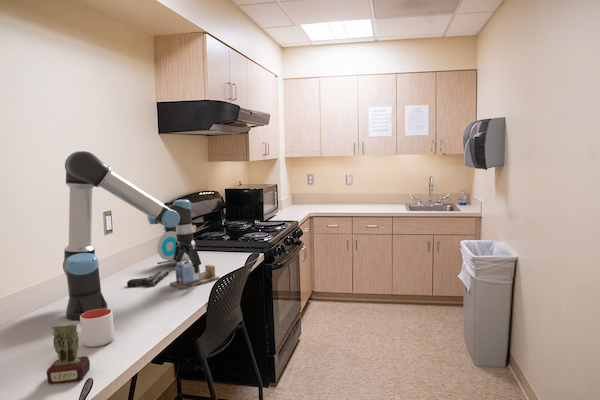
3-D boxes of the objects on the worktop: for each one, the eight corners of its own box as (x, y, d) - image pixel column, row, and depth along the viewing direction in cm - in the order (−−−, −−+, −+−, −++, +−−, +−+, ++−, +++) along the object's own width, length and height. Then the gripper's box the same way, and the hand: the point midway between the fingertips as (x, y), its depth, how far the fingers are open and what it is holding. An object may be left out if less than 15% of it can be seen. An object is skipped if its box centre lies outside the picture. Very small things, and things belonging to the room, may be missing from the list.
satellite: (208, 229, 269) (172, 232, 278) (187, 222, 251) (150, 225, 261) (204, 269, 262) (168, 270, 272) (183, 264, 245) (145, 265, 254)
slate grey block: (183, 285, 217) (182, 268, 216) (176, 282, 221) (175, 266, 220) (200, 280, 223) (199, 264, 222) (193, 278, 227) (191, 262, 226)
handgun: (143, 270, 241) (169, 268, 240) (144, 276, 242) (170, 275, 240) (126, 281, 221) (154, 279, 220) (127, 288, 222) (155, 287, 221)
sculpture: (46, 386, 130) (39, 334, 128) (56, 372, 138) (50, 323, 136) (83, 381, 131) (77, 330, 130) (91, 368, 139) (86, 319, 137)
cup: (78, 343, 158) (75, 314, 157) (107, 333, 165) (105, 306, 164) (89, 351, 151) (86, 321, 150) (120, 341, 158) (117, 312, 157)
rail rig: (183, 289, 213) (182, 276, 213) (169, 285, 222) (168, 272, 221) (219, 279, 227) (218, 266, 227) (205, 275, 236) (204, 263, 235)
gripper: (206, 234, 213) (210, 279, 216) (177, 229, 231) (181, 271, 233) (192, 236, 208) (196, 283, 210) (163, 231, 225) (167, 274, 228)
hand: (188, 277), depth 222 cm, fingers open, 13 cm apart
